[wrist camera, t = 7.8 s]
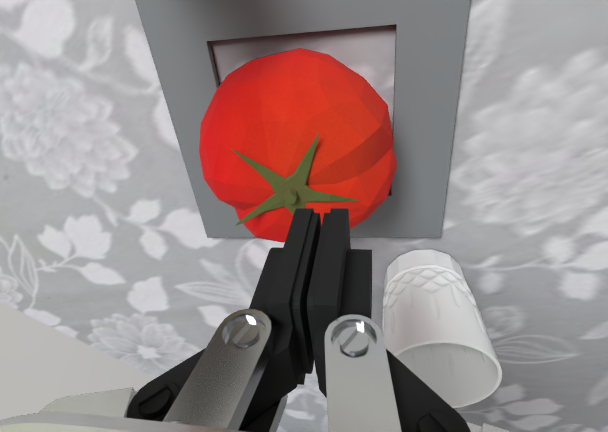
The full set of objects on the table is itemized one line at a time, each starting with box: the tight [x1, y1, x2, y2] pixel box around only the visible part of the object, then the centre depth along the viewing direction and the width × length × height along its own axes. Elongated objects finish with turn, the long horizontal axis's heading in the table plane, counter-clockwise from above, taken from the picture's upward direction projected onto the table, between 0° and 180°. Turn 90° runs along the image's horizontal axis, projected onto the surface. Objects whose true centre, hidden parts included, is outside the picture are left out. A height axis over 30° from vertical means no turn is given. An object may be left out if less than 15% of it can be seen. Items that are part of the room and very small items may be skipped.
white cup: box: [382, 249, 502, 408], centre depth 30 cm, size 8×8×10 cm
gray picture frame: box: [135, 0, 470, 238], centre depth 27 cm, size 20×20×1 cm
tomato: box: [199, 48, 397, 242], centre depth 23 cm, size 12×12×10 cm
